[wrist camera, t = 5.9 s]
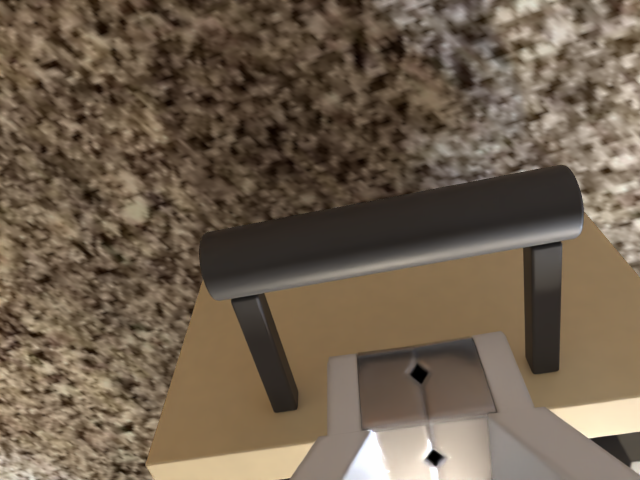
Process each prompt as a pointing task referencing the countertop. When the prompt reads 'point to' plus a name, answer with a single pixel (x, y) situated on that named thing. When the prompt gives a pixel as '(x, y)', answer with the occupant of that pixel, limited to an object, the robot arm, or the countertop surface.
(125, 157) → the countertop surface
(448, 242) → the drawer
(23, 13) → the countertop surface
